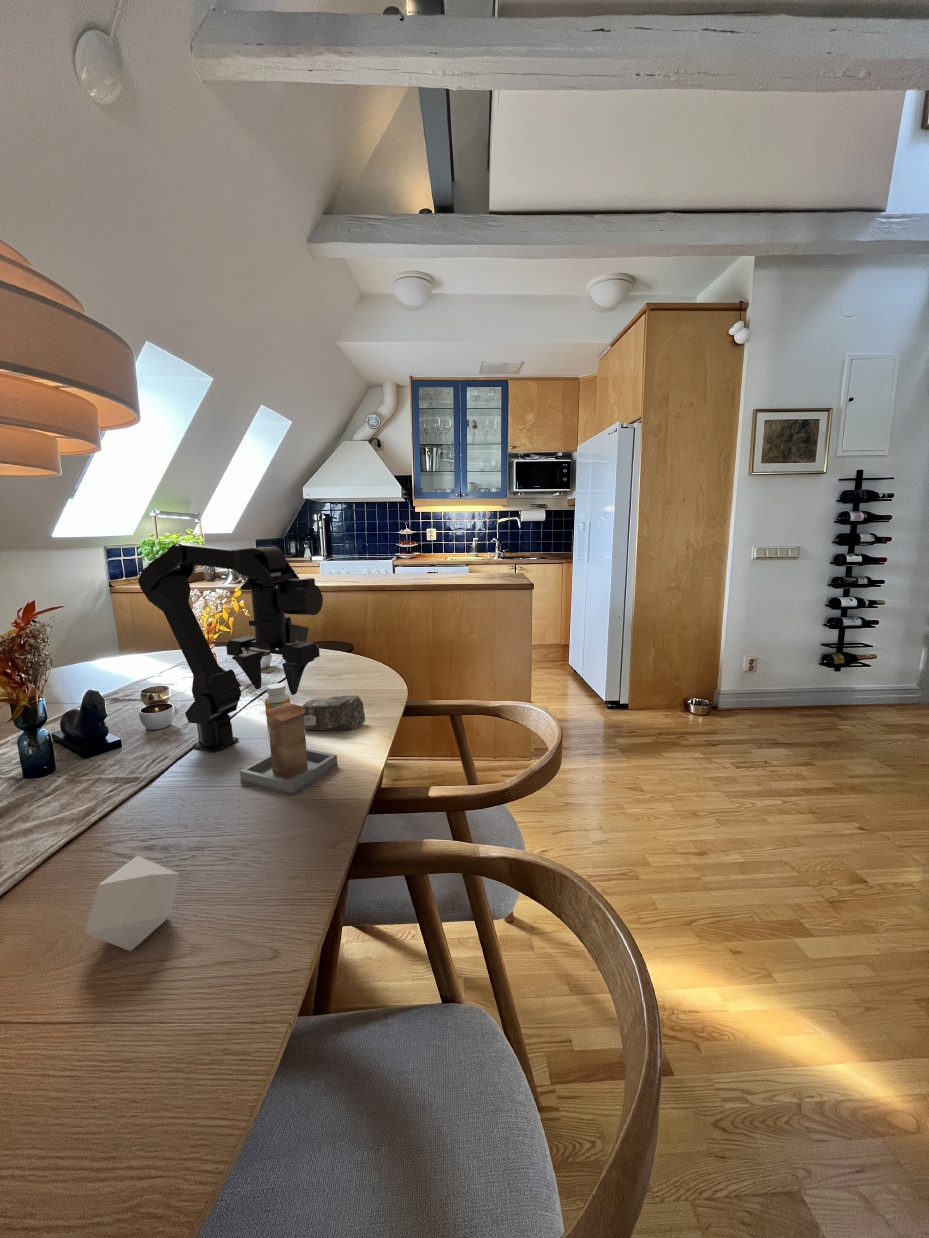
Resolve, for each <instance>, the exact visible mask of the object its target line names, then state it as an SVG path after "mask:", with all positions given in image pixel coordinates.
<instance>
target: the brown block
mask: <svg viewBox="0 0 929 1238" xmlns="http://www.w3.org/2000/svg"><path fill="white" fill-rule="evenodd" d="M302 706H303V705H302ZM302 706H301V705H299V704H294V703H292V702H290V703H285V704H283V705H280V706H277V707H274V708H271V709H268V710H266V709H265V712H264V713H265V716H268V726H269V728H268V733H269V734H268V736H269V747H270V754H271V759H272V771H273V773H275V774H277V775H280V776H282V777H285V778H287V779H289V778H291V777H293V776H295V775H297V774H299V773H301V772H303V771H305V770H307V769H308V764H307V751H306V749H307V740H306V730H305V729H306V728H305V725H304V713H305V707H302ZM268 726H267V727H268Z"/></svg>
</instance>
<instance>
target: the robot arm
mask: <svg viewBox="0 0 929 1238" xmlns="http://www.w3.org/2000/svg"><path fill="white" fill-rule="evenodd" d="M196 566H204V567H211V568H219V569H226V570H231V571H233V572H236V573H237V574H238V575H240V576H242V577H246V578H247V580H245V582H244V583H243V584H242V585H241V586H240V590H242V591H250V593H251V594H250V595H251V604H252V616H253V619H249V620H248V626H250V627H254V635H253V636H251V635H245V636H240V637H237V638H234V639H233V638H232V639H230V640H228V642H227V644H226V645H225V646H226V654H227V656H231V658H232V660H233V661H235V662H236V663H237V664H238V665H239V667H240V668H241V670H242V671H243V672H244V674H245V675H246V677H247V679H248V680H249V681H250V683H251V684H252V686H253V687H254V688H255V690H260V689H262V659H263V656H264V654H272V655H279V656H281V657H282V659H283V660H284V662H283V663H281V665H282V668H283V672H284V676H285V679H286V682H287V687H288V690H289V692H290V694H291V696H294V695H296V694H297V693H298V691H299V686H300V683H301V679H302V677H303V675H304V671H305V668H306V667H307V666H308V664H309V663H311V662H313V661H314V660H315V659H317V658H319V657H320V646H319V645H318V644H317V642H309V641H308V638H309V630H310V627H307V626H302V625H297V624H294V623H292V618H291V616H288V615H298V616H299V615H300V616H316V615H318V614H319V613H320V612H321V610H322V608H323V602H324V596H323V594H322V592H321V589H320V587H319V586H318V585H317V584H316V581H315V578H314V577H312V578H311V577H310V578H300V577H299V576H298V574H297V573H296V572H295V570H294V569H293V568H292V566H291V565H290V563H289V562H288V560H287V559H286V556H285V553H284V552H283V551H282V549H281V548H279V547H277V546H266V547H265V546H261V547H252V548H251V547H250V548H232V547H225V546H224V547H223V546H214V545H205V544H198V543H195V542H178V543H177V542H176V543H174V544H172V545H171V546H170V547H169V548H168V549H167V550H166V551H165V552H164V553H162V554H161V555H160V556H158V557H157V558H155V559H153V560H152V561H151V562H149V564H148V565H147V566H146V567H144V568H143V569H142V570H141V571H140V574H139V577H138V579H137V580H138V586H139V587H140V590H141V591H142V593H143V595H145V598H146V599H147V600H148V602H149V603H151V604H152V605H154V606H155V607H156V608H158V609H159V610H161V611H162V612H163V614H164V616H165V618H166V620H167V622H168V625H169V627H170V629H171V631H172V634H173V635H174V637H175V639H176V641H177V643H178V646H179V648H180V650H181V653H182V654H183V656H184V659H185V661H186V662H187V665H188V667H189V669H190V671H191V673H192V676H193V677H192V685H191V686H192V687H191V693H192V697H193V699H194V701H193V703H192V704H191V705H190V706H189V707H188V709H187V710H186V711H185V712H184V714H185V717H186V720H187V722H188V723H190V724H196V727H197V735H198V742H196V743H194V744H192V748H194V749H198V750H203V751H207V752H210V753H211V752H212V753H215V752H218V751H219V750H222V749H224V748H226V747H228V746H230V745H232V744H234V743H237V742H239V740H240V739H239V737H235V736H234V735H233V734H234V733H233V726H232V725H233V724H232V722H231V721H232V719H231V715H230V714H231V713H233V712H235V711H237V709H238V705H239V702H240V699H241V696H242V691H241V688H240V687H242V684H241V683H240V682H239V681H238V679H237V677H236V673H235V671H234V670H233V669H232V668H230V669H228V670H226V669H224V668H223V667H222V666H220V665H219V664H218V661H217V660H216V657H215V654H214V653H213V651H212V648H211V646H210V645H209V643H208V640H207V638H206V636H205V633H204V632H203V629H202V628H201V625H200V623H199V621H198V619H197V617H196V614H195V613H194V611H193V608H192V606H191V605H190V596H191V590H192V589H191V585H190V582H189V580H190V579H191V577H193V576H194V574H195V572H196ZM286 615H287V616H286Z"/></svg>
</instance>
